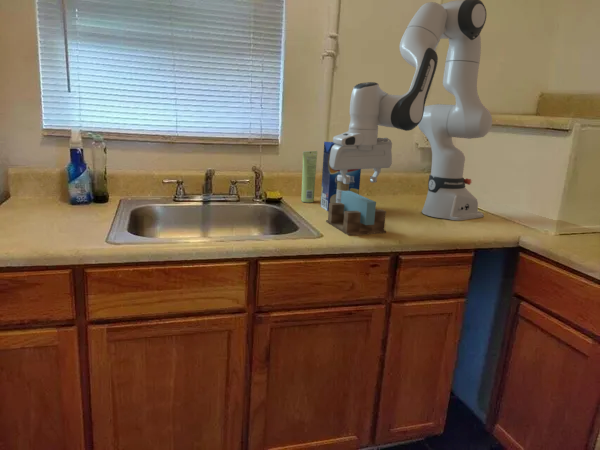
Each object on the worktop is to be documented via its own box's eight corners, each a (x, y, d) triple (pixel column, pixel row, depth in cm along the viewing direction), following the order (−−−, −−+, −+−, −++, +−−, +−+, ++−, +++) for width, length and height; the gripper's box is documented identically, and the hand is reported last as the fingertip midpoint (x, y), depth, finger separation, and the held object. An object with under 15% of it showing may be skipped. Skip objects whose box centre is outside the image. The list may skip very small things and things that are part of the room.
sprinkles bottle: (350, 213, 171) (353, 175, 167) (340, 214, 168) (342, 176, 165) (342, 210, 174) (344, 173, 171) (332, 211, 172) (334, 174, 168)
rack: (361, 219, 162) (362, 200, 161) (386, 232, 148) (388, 212, 146) (326, 221, 157) (327, 202, 156) (348, 235, 143) (350, 214, 141)
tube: (301, 199, 190) (304, 149, 184) (314, 200, 189) (317, 150, 184) (300, 202, 184) (302, 151, 179) (313, 203, 184) (316, 152, 179)
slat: (348, 211, 160) (349, 190, 158) (374, 224, 145) (376, 201, 143) (340, 211, 159) (341, 191, 157) (365, 225, 144) (367, 202, 142)
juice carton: (327, 211, 172) (331, 143, 166) (320, 206, 179) (323, 141, 173) (357, 210, 176) (363, 144, 170) (349, 205, 183) (354, 142, 176)
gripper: (386, 136, 152) (383, 179, 156) (328, 137, 145) (326, 182, 149) (397, 138, 146) (394, 183, 150) (337, 139, 139) (335, 186, 143)
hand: (359, 182), depth 149 cm, fingers open, 8 cm apart
